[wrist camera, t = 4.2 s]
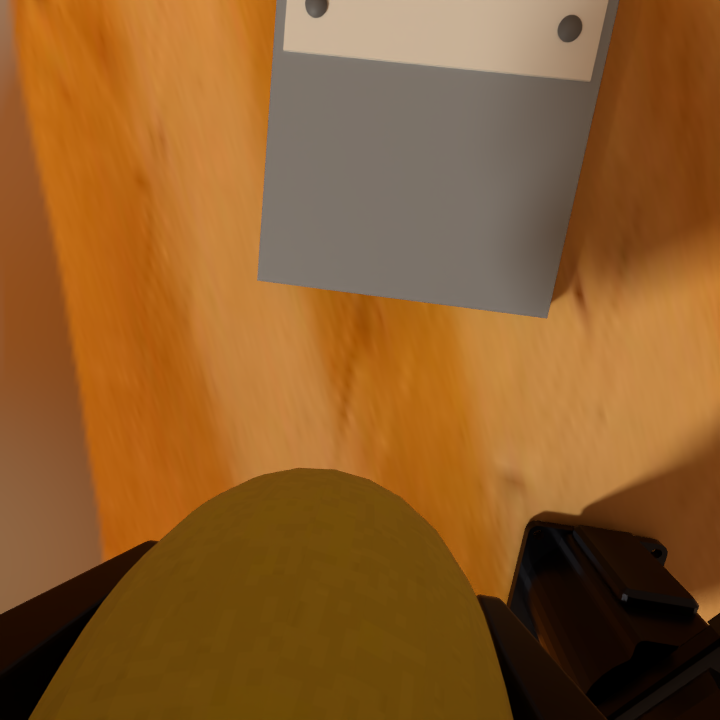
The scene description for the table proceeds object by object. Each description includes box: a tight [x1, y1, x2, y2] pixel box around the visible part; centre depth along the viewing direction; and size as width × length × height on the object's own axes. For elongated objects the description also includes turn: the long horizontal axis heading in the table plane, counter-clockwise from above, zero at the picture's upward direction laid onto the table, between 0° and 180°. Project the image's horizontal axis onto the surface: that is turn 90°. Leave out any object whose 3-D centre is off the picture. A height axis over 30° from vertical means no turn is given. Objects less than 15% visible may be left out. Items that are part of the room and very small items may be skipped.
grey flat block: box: [257, 0, 619, 318], centre depth 15 cm, size 14×12×2 cm
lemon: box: [28, 468, 513, 720], centre depth 5 cm, size 6×6×8 cm
